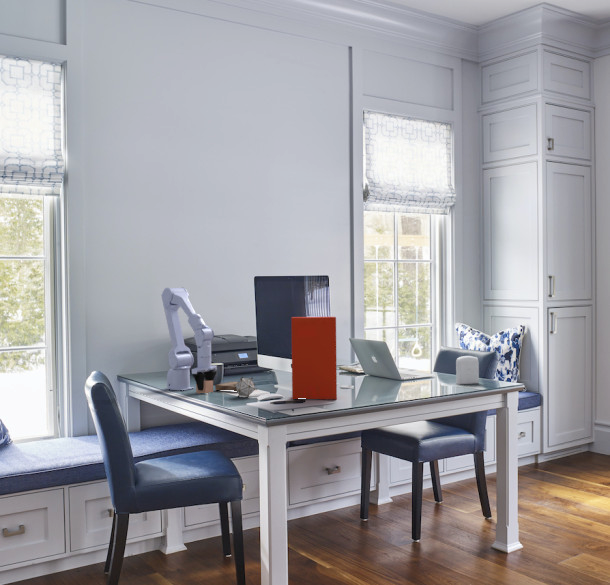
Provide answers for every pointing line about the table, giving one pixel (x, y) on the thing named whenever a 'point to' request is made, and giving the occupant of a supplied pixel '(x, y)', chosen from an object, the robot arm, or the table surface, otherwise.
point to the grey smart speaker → (467, 370)
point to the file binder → (314, 358)
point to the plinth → (227, 386)
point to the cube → (206, 387)
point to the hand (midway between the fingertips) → (204, 389)
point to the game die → (245, 387)
